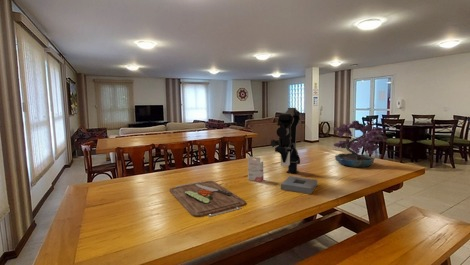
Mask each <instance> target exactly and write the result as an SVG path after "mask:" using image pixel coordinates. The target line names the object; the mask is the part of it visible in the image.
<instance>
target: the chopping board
mask: <svg viewBox="0 0 470 265" xmlns="http://www.w3.org/2000/svg"><path fill="white" fill-rule="evenodd" d="M168 191H169V193H170V194H171V195H172V196H173V197H174V199H176V200H177V201H178V203H180V205H182V207H183V208H184V209H185V210H186V211H187V212H188V213H189V214H190V216H192V217H195V218H199V217H205V216H207V217H208V218H211V217H214V216H218V215H219V216H220V215H221V214H225V213H226V214H227V213H230V212H232V211H233V212H234V211H237V210H238V211H239V210H241V209H242V207H243V206H245V205H246V203H247V202H246V200H245V199H243V197H240V196H238V195H237V194H235V193H233V192H232V191H231V190H229V189H227V188H225V187H223V186H222V185H221V184H219V183H217V182H216V181H214V180H207V181H203V180H201V181H196V182H190V183H185V184H179V185H176V186H173V187H170V188H169V190H168Z"/></svg>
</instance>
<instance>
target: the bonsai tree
mask: <svg viewBox="0 0 470 265" xmlns="http://www.w3.org/2000/svg"><path fill="white" fill-rule="evenodd" d="M351 129H354V130H355V131H360V132H361V133H362V135H359V136H358V137H355V138H354V139H352V140H350V138H351V137H352V136H353V134H352V130H351ZM333 130H335V131H336V132H337V133H336V135H337V137H340V138H341V137H342V136H344V135H345V134H348V136H349V137H350V138H346V139H345V140H339V141H338V142H336V143H333V147H335V148H336V147H337V148H338V149H339V148H341V149H345V150H347V151H348V152H349V153H339V154H336V155H335V156H334V157H335V161H336V162H338V164H340V165H341V166H345V167H351V168H368V167H370V166H371V165H372V164H373V163H374V162H375V159H376V158H375V157H372V156H369V155H373V154H374V153H375V151H376V150H377V149H379V148H380V146H379V144H377V143H376V144H375V143H373V142H384V143H385V142H387V141H388V137H387V136H383V134H384V133H385V132H384V128H383V127H380V126H376V127H373V128H372V125H371V124H366V125H364V123H360V121H359V120H353V121H351V122H350V123H347V124H345V123H343V124H342V125H340V126H339V127H338V126H334V127H333ZM381 135H382V136H381ZM360 149H364V150H365V151H367V154H369V155H367V154H360V152H361V151H360Z"/></svg>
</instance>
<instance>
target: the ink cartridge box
mask: <svg viewBox="0 0 470 265" xmlns="http://www.w3.org/2000/svg"><path fill="white" fill-rule="evenodd" d="M264 178H265V177H264V160H261V157H259V156H247V180H248V181H250V182H251V181H253V182H259V183H260V182H262V181H264Z"/></svg>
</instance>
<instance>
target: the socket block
mask: <svg viewBox="0 0 470 265" xmlns="http://www.w3.org/2000/svg"><path fill="white" fill-rule="evenodd" d="M317 186H318V179H314V178H306V177H298V176H292V175H290V176H288V177H287V178H286V179H285V180H283V182H281V183H280V190H282V191H288V192H294V193H295V192H296V193H302V194H307V195H311V194H312V193H313V192H314V190H315V189H316V187H317Z"/></svg>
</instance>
